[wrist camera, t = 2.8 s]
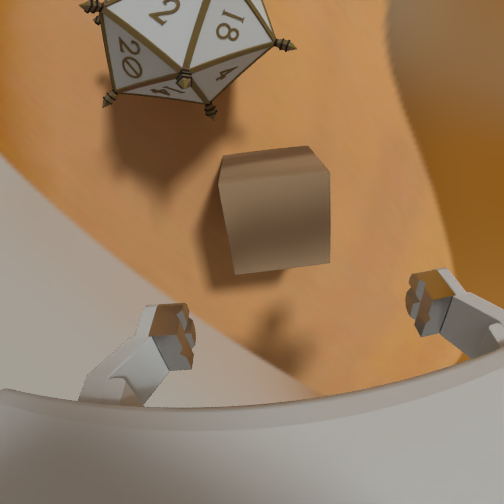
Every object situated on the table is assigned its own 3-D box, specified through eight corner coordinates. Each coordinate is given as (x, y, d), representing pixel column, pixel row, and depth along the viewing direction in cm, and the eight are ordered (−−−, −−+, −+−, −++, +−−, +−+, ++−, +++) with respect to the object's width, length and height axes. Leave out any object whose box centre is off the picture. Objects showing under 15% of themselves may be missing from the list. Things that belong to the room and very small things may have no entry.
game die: (221, 61, 18) (246, 180, 14) (94, 43, 14) (55, 168, 10) (287, -48, 10) (373, 27, 7) (132, -87, 6) (73, -60, 3)
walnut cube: (223, 155, 18) (218, 184, 14) (307, 145, 18) (329, 171, 13) (235, 228, 20) (235, 275, 16) (311, 219, 20) (329, 262, 16)
